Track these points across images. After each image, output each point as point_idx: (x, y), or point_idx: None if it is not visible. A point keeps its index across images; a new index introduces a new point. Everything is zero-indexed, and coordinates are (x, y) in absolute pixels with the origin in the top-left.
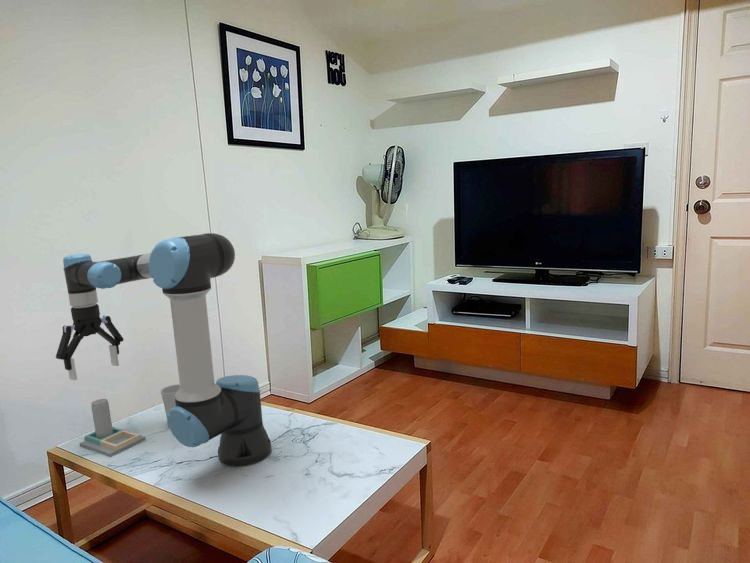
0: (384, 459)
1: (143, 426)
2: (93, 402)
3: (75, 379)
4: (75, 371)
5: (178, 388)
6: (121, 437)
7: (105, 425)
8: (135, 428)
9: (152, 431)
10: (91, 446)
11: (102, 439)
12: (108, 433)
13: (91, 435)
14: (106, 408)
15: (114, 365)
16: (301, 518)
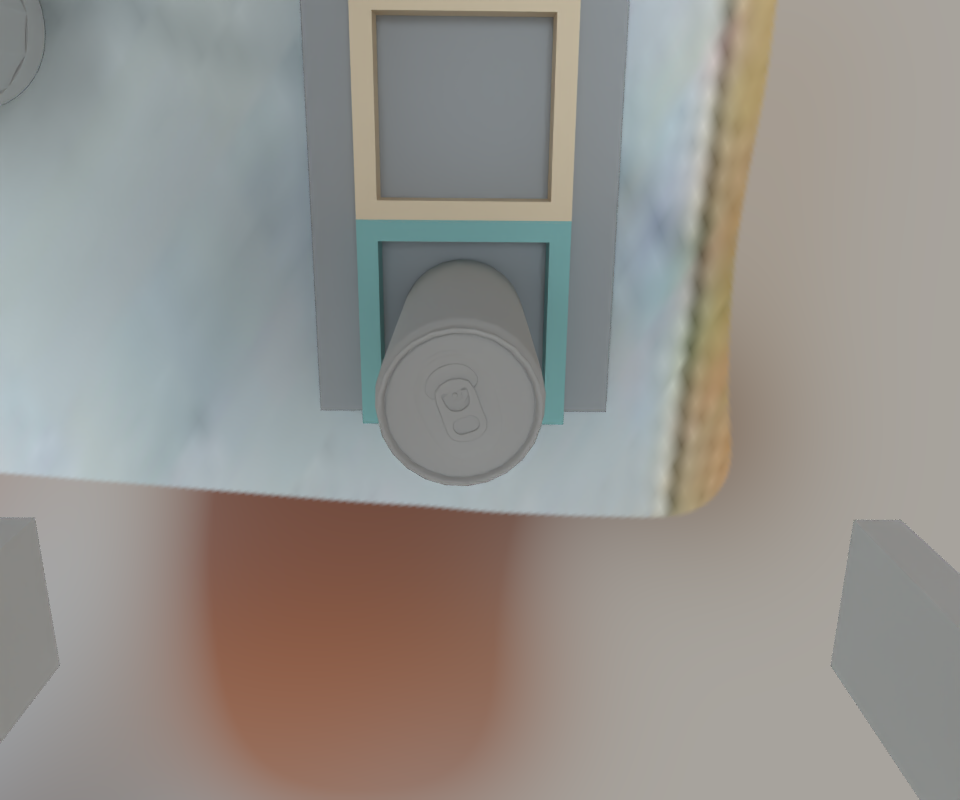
0: None
1: (169, 253)
2: (495, 463)
3: (893, 525)
4: (951, 607)
5: None
6: (404, 188)
7: (479, 280)
8: (225, 282)
9: (183, 89)
10: (604, 271)
11: (544, 225)
12: (465, 265)
13: None
14: (441, 310)
15: (45, 590)
16: None
